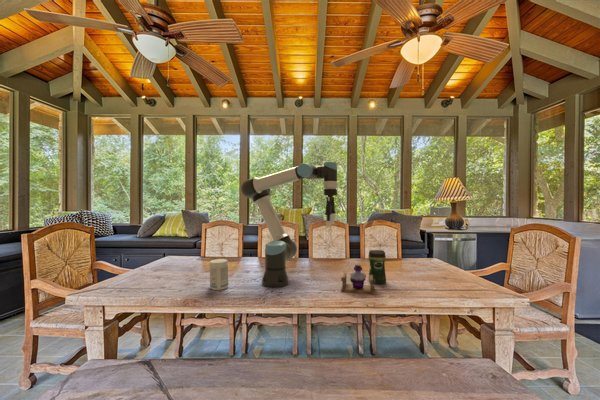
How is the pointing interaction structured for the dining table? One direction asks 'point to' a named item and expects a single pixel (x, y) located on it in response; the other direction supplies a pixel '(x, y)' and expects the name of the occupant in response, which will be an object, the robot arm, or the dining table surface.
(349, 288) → the holder
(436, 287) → the dining table surface
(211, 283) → the supplement tub
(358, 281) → the potion bottle
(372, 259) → the coffee jar
